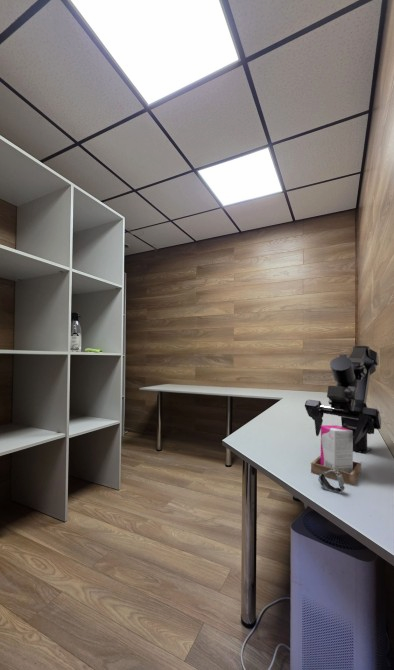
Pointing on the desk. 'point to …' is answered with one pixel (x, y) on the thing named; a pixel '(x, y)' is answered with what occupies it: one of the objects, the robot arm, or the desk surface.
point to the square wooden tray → (347, 477)
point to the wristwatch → (327, 485)
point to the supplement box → (337, 447)
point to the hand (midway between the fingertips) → (334, 439)
